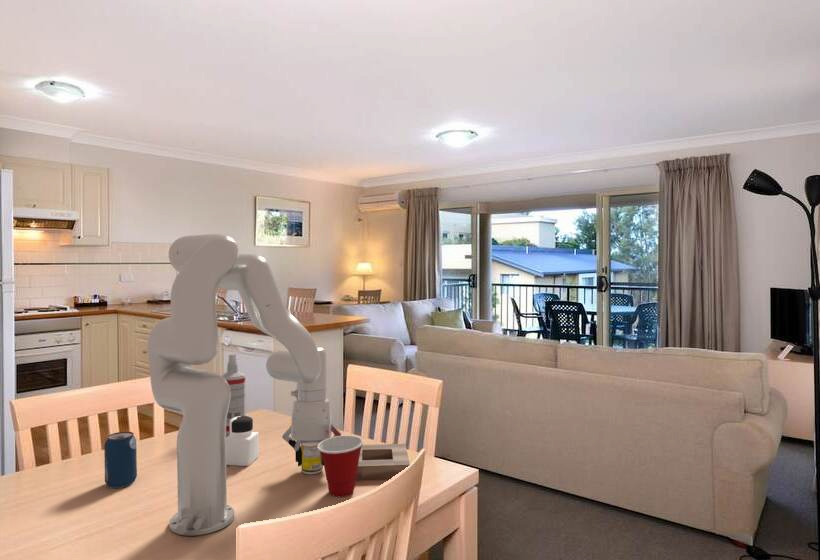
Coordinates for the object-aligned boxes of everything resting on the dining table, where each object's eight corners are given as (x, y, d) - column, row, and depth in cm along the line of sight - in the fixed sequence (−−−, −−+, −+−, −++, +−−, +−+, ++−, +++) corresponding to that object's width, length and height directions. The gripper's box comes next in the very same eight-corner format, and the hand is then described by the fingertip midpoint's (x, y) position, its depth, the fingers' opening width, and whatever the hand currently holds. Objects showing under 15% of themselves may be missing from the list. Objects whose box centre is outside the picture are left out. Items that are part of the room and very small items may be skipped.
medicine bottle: (259, 457, 149) (258, 414, 149) (248, 466, 142) (248, 421, 142) (234, 456, 150) (234, 413, 150) (223, 465, 143) (222, 421, 143)
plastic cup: (313, 486, 129) (313, 437, 129) (356, 480, 133) (356, 432, 133) (322, 505, 119) (322, 451, 119) (369, 497, 123) (368, 446, 122)
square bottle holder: (410, 478, 134) (409, 464, 134) (345, 480, 133) (345, 466, 133) (405, 455, 150) (405, 443, 150) (348, 457, 149) (347, 445, 148)
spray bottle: (242, 433, 170) (242, 355, 169) (218, 435, 169) (217, 356, 168) (247, 426, 178) (246, 351, 177) (223, 427, 177) (223, 352, 176)
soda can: (143, 479, 133) (142, 432, 133) (121, 490, 127) (120, 440, 126) (120, 476, 135) (120, 429, 135) (98, 487, 129) (97, 438, 128)
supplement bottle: (308, 466, 142) (308, 427, 142) (326, 468, 140) (326, 430, 140) (297, 473, 137) (296, 434, 137) (316, 476, 135) (315, 436, 135)
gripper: (275, 399, 134) (276, 470, 134) (344, 397, 135) (344, 468, 136) (280, 392, 141) (280, 459, 142) (345, 390, 143) (345, 457, 143)
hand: (312, 463), depth 139 cm, fingers closed on supplement bottle, 5 cm apart
